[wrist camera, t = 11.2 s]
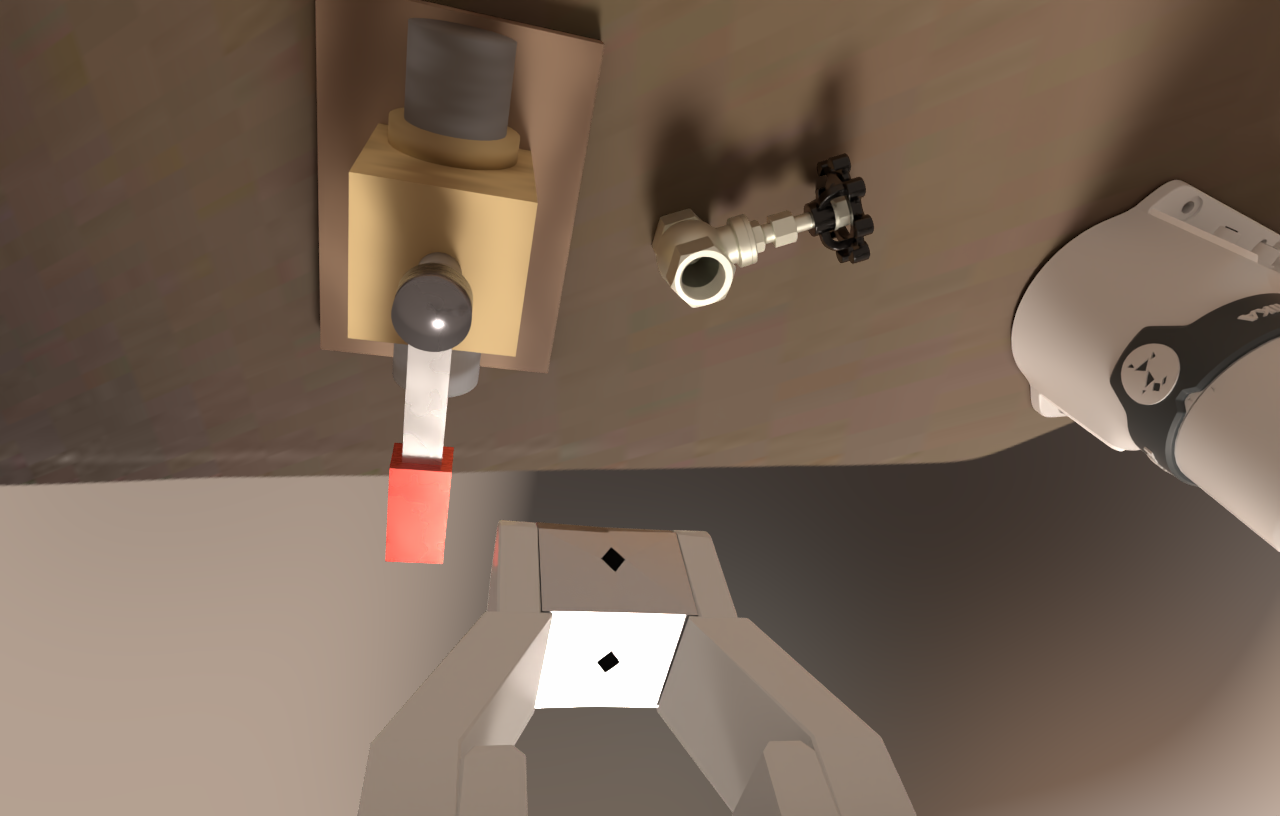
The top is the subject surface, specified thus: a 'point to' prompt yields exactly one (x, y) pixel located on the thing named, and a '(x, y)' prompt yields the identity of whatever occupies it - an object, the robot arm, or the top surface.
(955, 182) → the top surface
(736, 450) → the top surface
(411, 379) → the valve lever
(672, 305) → the top surface
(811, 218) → the valve
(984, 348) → the top surface
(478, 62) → the valve manifold
